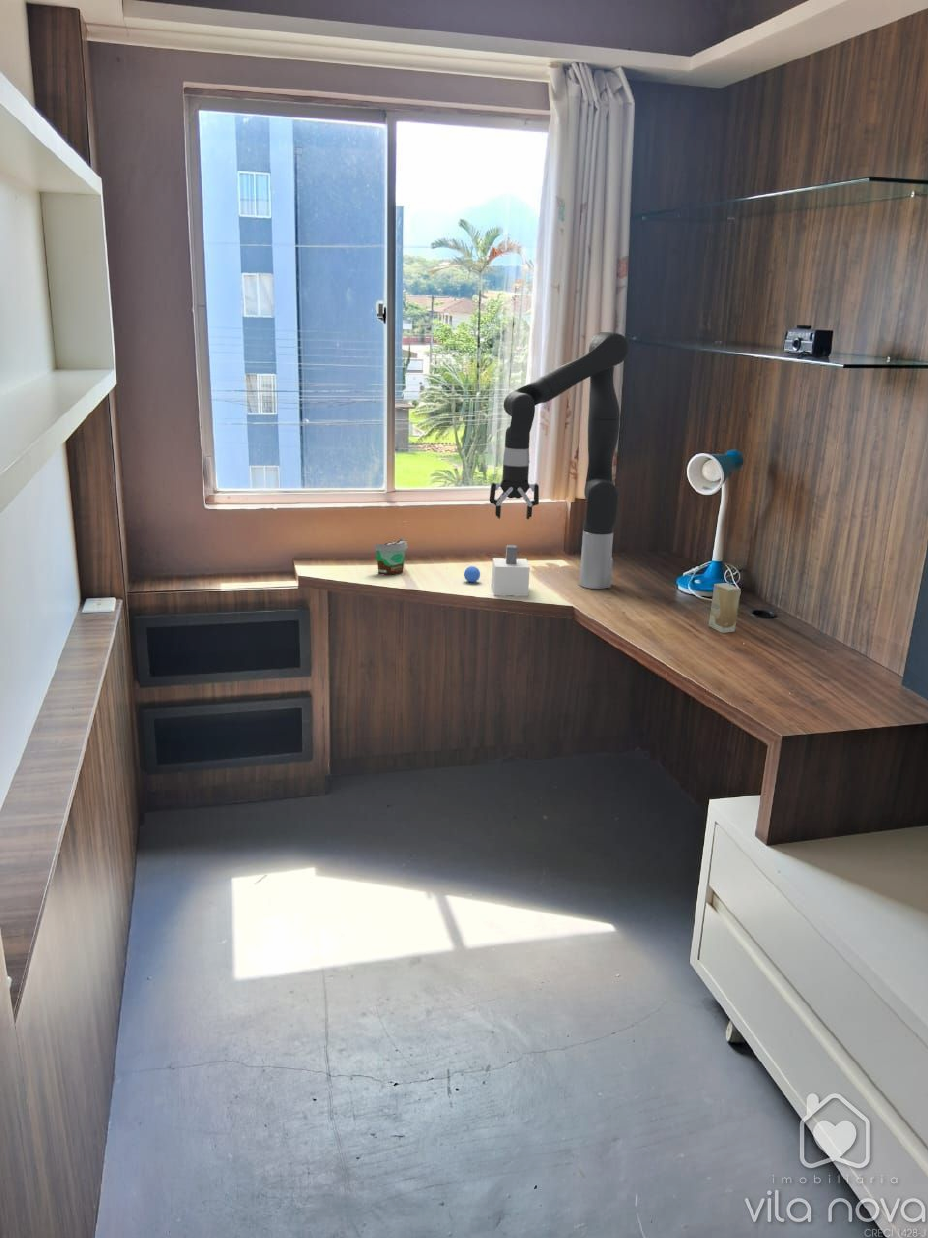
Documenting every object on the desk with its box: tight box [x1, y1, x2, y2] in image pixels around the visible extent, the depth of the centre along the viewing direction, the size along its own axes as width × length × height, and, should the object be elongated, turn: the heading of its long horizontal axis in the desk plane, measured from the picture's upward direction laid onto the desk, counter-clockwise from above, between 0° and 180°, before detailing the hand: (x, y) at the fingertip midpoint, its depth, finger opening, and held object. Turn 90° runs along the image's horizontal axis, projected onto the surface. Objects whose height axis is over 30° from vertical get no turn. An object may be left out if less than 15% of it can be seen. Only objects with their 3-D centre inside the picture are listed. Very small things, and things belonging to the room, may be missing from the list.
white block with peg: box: [491, 544, 531, 597], centre depth 283 cm, size 10×10×14 cm
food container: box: [374, 537, 408, 576], centre depth 299 cm, size 12×6×10 cm, turn 143°
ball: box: [463, 565, 481, 583], centre depth 293 cm, size 5×5×5 cm
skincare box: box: [708, 582, 742, 634], centre depth 255 cm, size 6×4×12 cm
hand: (513, 518), depth 279 cm, fingers open, 8 cm apart
